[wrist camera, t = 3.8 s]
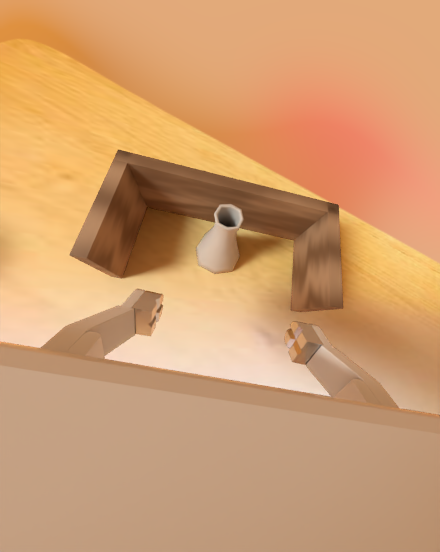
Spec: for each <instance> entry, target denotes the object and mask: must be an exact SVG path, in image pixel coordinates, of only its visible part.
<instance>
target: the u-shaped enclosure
mask: <svg viewBox="0 0 440 552" xmlns="http://www.w3.org/2000/svg"><path fill="white" fill-rule="evenodd" d="M222 204H232V205H234V206H236V207H238V208H240V209H241V210H242V214H243V218H244V220H243V222H242V224H241V226H240V228H242V229H246V230H251V231H255V232H260V233H264V234H269V235H273V236H277V237H282V238H286V239H291V240H294V252H293V274H292V297H291V310H292V311H298V312H307V311H319V310H331V309H343V294H342V271H341V249H340V226H339V205H337V204H333V203H329V202H325V201H321V200H317V199H313V198H309V197H305V196H301V195H297V194H293V193H289V192H285V191H281V190H277V189H273V188H269V187H265V186H261V185H257V184H253V183H249V182H245V181H241V180H237V179H233V178H229V177H225V176H221V175H217V174H213V173H209V172H205V171H202V170H198V169H194V168H190V167H186V166H182V165H178V164H174V163H170V162H166V161H162V160H158V159H154V158H150V157H146V156H142V155H138V154H134V153H130V152H126V151H122V150H118V151H117V153H116V155H115V158H114V160H113V162H112V164H111V166H110V168H109V171H108V173H107V175H106V177H105V179H104V181H103V184H102V186H101V188H100V190H99V192H98V194H97V197H96V199H95V201H94V203H93V205H92V207H91V209H90V212H89V214H88V216H87V218H86V220H85V222H84V225H83V227H82V229H81V231H80V233H79V235H78V238H77V240H76V242H75V244H74V246H73V248H72V251H71V253H70V256H72V257H74V258H76V259H78V260H80V261H82V262H84V263H86V264H88V265H90V266H92V267H94V268H96V269H98V270H100V271H101V272H103V273H105V274H107V275H109V276H112V277H117V278H122V277H123V274H124V272H125V269H126V266H127V263H128V260H129V257H130V254H131V251H132V249H133V246H134V243H135V240H136V237H137V234H138V231H139V229H140V226H141V223H142V220H143V217H144V214H145V211H146V208H147V207H149V208H154V209H158V210H162V211H167V212H171V213H176V214H180V215H185V216H189V217H193V218H198V219H202V220H207V221H211V222H215V217H214V213H215V211H216V210H217V208H218V207H219V205H222Z"/></svg>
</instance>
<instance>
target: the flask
mask: <svg viewBox="0 0 440 552" xmlns="http://www.w3.org/2000/svg"><path fill="white" fill-rule="evenodd" d="M214 217H215V225H214V227H213V228H211V229H210V230H209V231H208V232H207V233H206V234H205V235H204V236H203V238H202V239H201V241H200V243H199V244H198V246H197V247H196V252H197V259H198V265H199V266H201V267H203V268H205V269H207V270H209V271H210V272H212V273H214V274H216V273H224V272H231V271H233V269H234V267H235V265H236V263H237V261H238V259H239V257H240V256H239V251H238V246H237V240H236V233H237V231H238V230H239V228H240V226H241V224H242V222H243V220H244V218H243V214H242V210H241V209H240V208H238V207H236V206H234V205H232V204H222V205H219V207H218V208H217V210H216V211H215V213H214Z"/></svg>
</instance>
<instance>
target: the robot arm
mask: <svg viewBox="0 0 440 552" xmlns="http://www.w3.org/2000/svg"><path fill="white" fill-rule="evenodd" d="M162 301H163V294H159V293H155V292H150V291H145V290H141V289H136V290H135V291H134V292H133V293H132V294H131V295H130V296H129V297H128V299H127V300H126V301H125V302H124V303H123V304H122V305H121V306H116V307H113V308H111V309H108V310H106V311H103V312H101V313H98V314H95V315H93V316H90V317H88V318H85V319H83V320H80V321H78V322H75V323H72V324H70V325H67V326H65V327H64V328H63V329H62V330H61V331H59V332H58V333H57V334H56V335H55V336H54V337H53V338H51V339H50V340H49V341H48V342H47V343H46V344H45V345H43V346H42V347H41V348H36V347H30V346H24V345H18V344H12V343H6V342H0V552H440V415H437V414H431V413H425V412H419V411H413V410H407V409H401V408H399V407H398V406H397V405H396V403H395V402H394V401H393V399H392V398H391V397H390V396H389V394H388V393H387V392H386V390H385V389H384V388H383V387H382V385H381V384H380V383H379V382H378V381H377V380H375V379H374V378H373V377H372V376H370V375H369V374H368V373H367V372H365V371H364V370H363V369H362V368H360V367H359V366H358V365H356V364H355V363H354V362H353V361H351V360H350V359H349V358H348V357H346V356H345V355H344V354H343V353H341V352H340V351H339V350H337V349H336V348H334V347H332V345H331V344H330V342H329V341H328V339H327V338H326V336H325V335H324V333H323V332H322V330H321V329H320V327H319V326H317V325H313V324H306V323H301V322H296V321H293V322H292V323H291V325H290V327H291V328H290V329H289V330H287V331H286V333H285V337H284V340H285V344H286V346H287V347H288V348H289V355H290V357H291V360H292V362H295V363H300V364H304V365H306V367H307V368H308V369H309V370H310V371H311V373H312V374H313V375H314V376H315V377H316V379H317V380H318V381H319V382H320V383H321V385H322V386H323V387H324V388H325V390H326V391H327V392H328V393H329V394H330V396H331V397H329V396H323V395H317V394H311V393H305V392H299V391H293V390H287V389H281V388H275V387H269V386H263V385H257V384H251V383H245V382H239V381H233V380H227V379H221V378H215V377H210V376H204V375H198V374H192V373H186V372H180V371H174V370H168V369H162V368H156V367H150V366H144V365H138V364H132V363H126V362H120V361H114V360H108V359H105V357H104V356H105V355H107V354H108V353H110V352H111V351H112V350H114V349H115V348H117V347H118V346H120V345H121V344H122V343H124V342H125V341H127V340H128V339H130V338H131V337H133V336H134V335H135V334H140V335H146V336H151V335H152V333H153V331H154V329H155V327H156V322H158V321H159V319H160V317H161V314H162V309H163V305H162V304H161V303H162Z"/></svg>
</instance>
